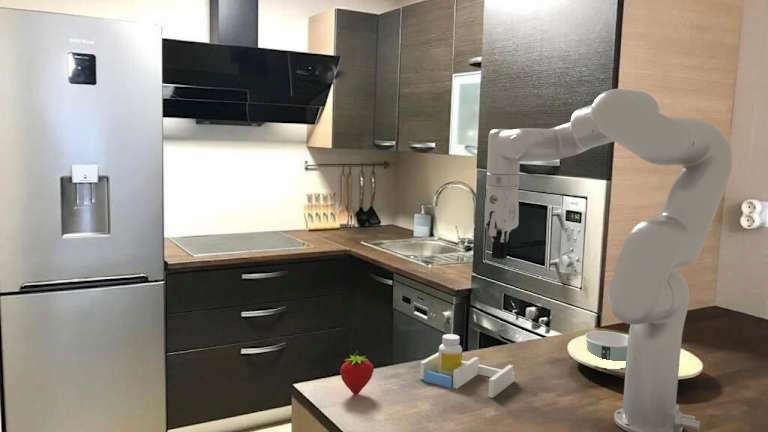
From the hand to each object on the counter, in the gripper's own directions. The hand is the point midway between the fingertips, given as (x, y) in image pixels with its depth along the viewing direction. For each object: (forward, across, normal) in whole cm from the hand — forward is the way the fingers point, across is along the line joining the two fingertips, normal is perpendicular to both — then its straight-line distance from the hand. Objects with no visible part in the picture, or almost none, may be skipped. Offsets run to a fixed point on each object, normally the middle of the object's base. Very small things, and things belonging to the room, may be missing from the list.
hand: (499, 257), depth 155 cm
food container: (+27, +20, -22) cm, 40 cm away
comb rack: (+27, -13, +2) cm, 30 cm away
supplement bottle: (+27, -13, +6) cm, 31 cm away
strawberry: (+27, -34, +17) cm, 47 cm away
